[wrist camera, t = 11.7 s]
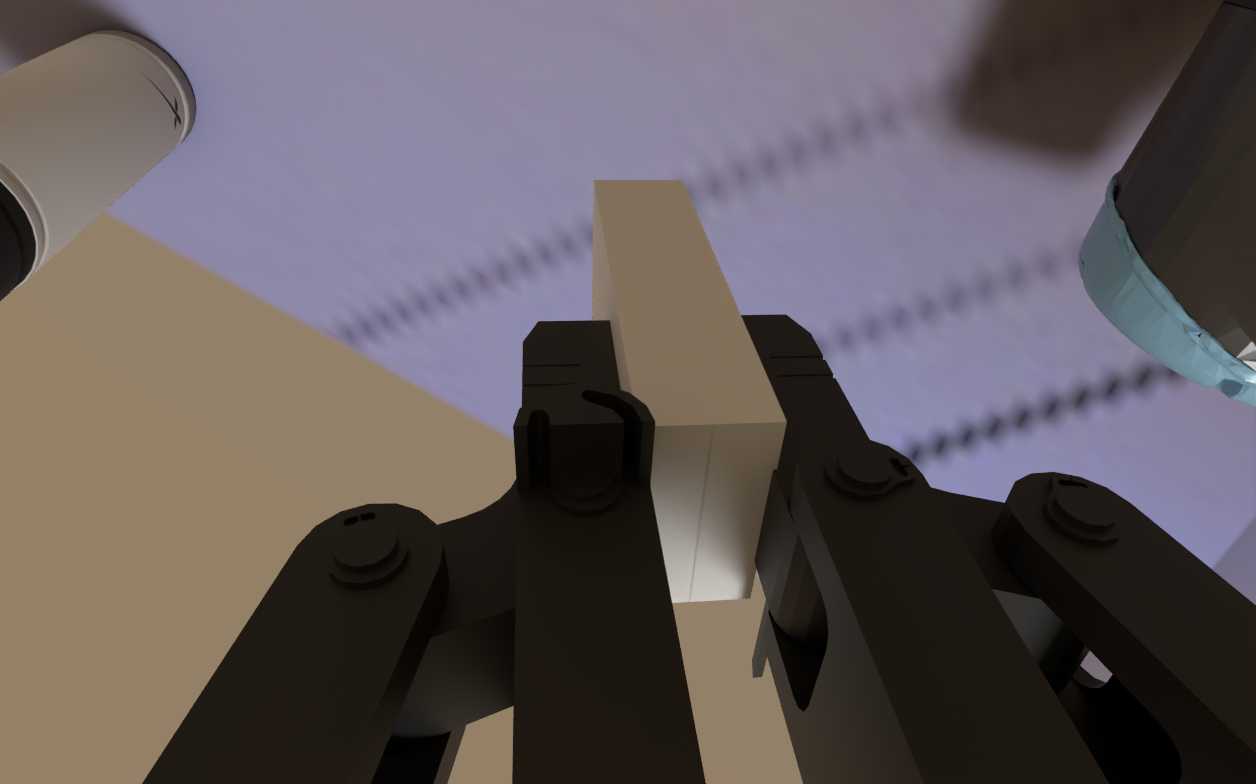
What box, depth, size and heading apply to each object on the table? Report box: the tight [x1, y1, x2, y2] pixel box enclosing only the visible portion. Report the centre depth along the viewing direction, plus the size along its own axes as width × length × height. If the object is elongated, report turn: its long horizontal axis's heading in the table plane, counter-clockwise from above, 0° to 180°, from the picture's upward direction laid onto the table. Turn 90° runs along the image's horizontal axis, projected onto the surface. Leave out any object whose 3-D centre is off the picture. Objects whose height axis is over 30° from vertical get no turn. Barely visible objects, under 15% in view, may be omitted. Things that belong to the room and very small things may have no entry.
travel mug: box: [0, 30, 196, 301], centre depth 32 cm, size 6×7×20 cm
